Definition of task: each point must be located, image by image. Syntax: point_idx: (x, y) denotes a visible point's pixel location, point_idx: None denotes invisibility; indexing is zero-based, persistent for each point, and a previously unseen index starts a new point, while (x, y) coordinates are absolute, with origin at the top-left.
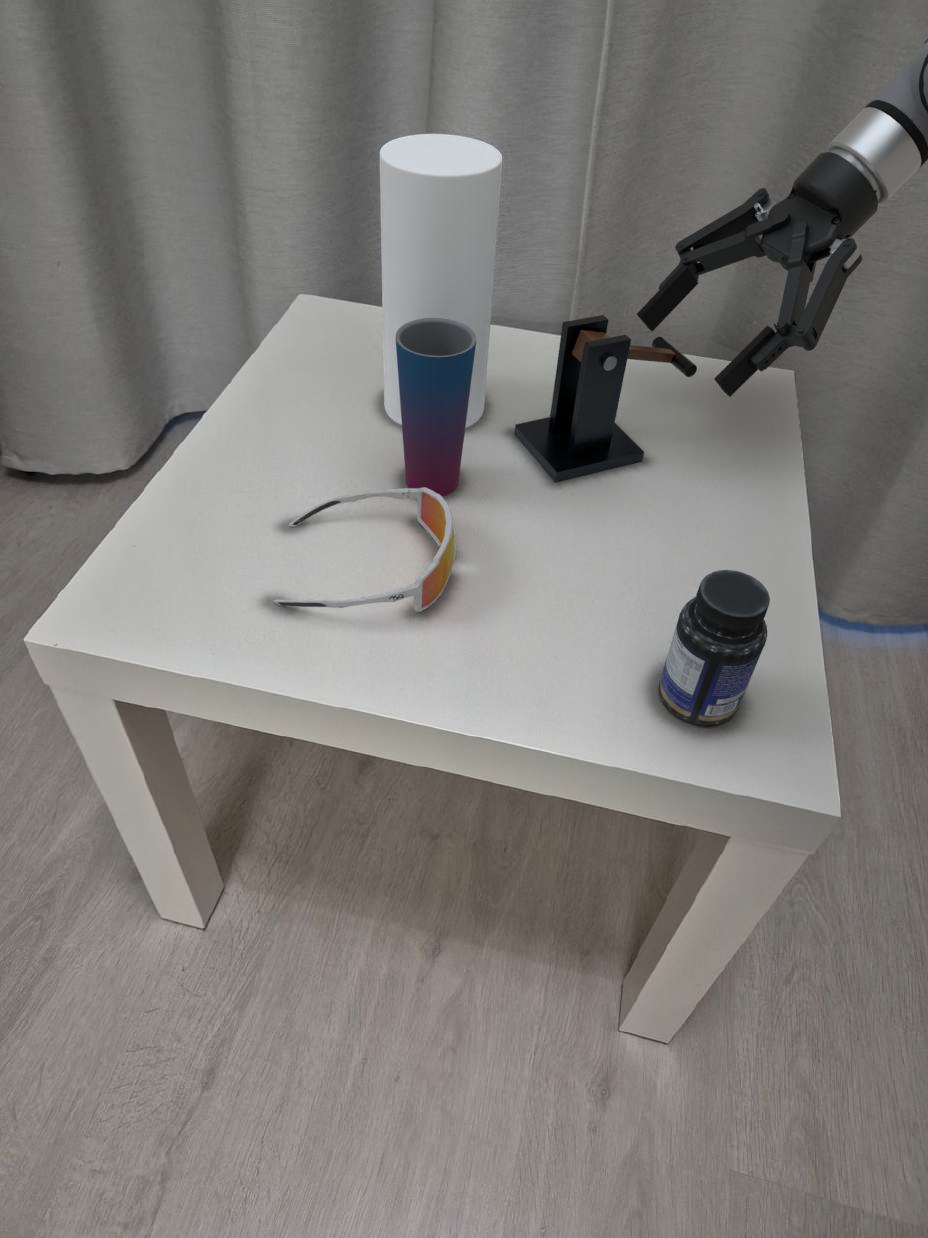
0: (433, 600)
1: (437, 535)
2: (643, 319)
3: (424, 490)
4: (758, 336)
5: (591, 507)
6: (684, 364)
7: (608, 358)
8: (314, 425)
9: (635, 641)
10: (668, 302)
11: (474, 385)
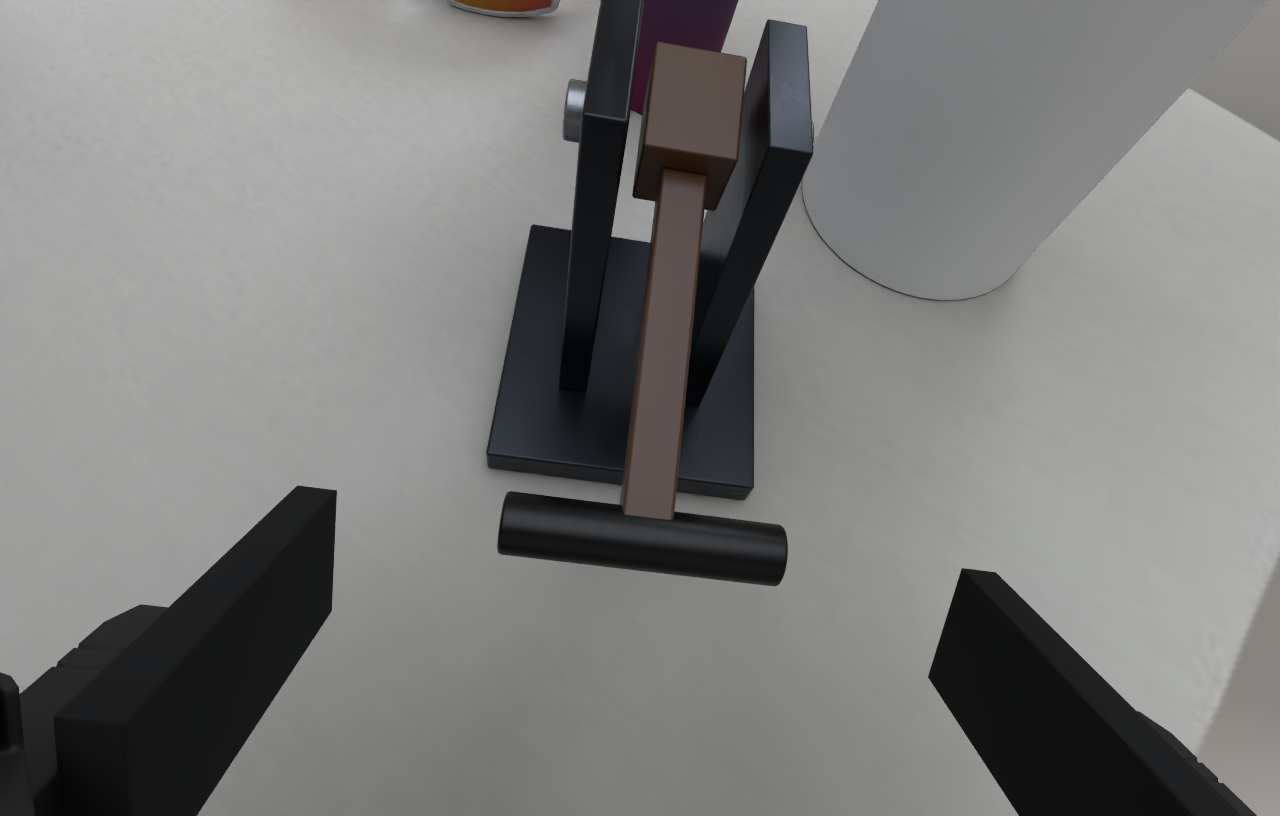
0: None
1: (499, 5)
2: (956, 592)
3: None
4: (170, 651)
5: (410, 253)
6: (538, 498)
7: (570, 82)
8: None
9: (32, 88)
10: (1019, 729)
11: (854, 143)
